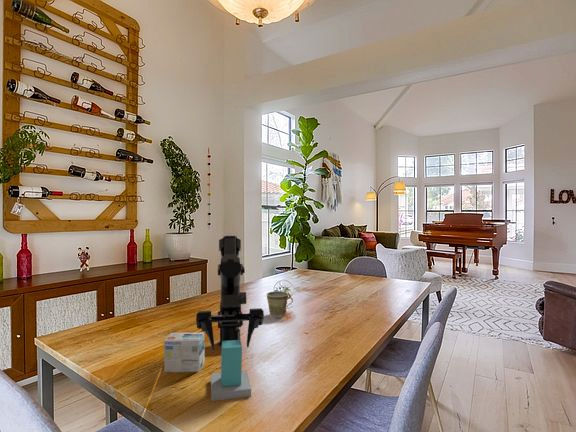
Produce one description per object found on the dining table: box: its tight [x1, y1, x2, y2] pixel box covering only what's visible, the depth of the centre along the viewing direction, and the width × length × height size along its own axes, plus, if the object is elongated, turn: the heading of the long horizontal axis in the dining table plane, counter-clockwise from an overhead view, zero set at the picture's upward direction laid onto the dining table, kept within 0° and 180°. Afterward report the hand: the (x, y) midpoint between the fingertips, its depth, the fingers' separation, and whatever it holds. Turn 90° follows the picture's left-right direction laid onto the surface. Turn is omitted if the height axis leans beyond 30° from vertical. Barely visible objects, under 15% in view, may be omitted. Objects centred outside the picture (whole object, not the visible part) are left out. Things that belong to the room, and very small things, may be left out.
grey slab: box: [210, 369, 252, 402], centre depth 88 cm, size 10×10×2 cm
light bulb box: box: [163, 331, 205, 373], centre depth 100 cm, size 11×7×11 cm, turn 92°
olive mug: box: [266, 290, 294, 319], centre depth 152 cm, size 13×10×10 cm
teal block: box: [220, 340, 243, 387], centre depth 88 cm, size 5×5×10 cm
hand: (230, 348), depth 89 cm, fingers open, 9 cm apart
